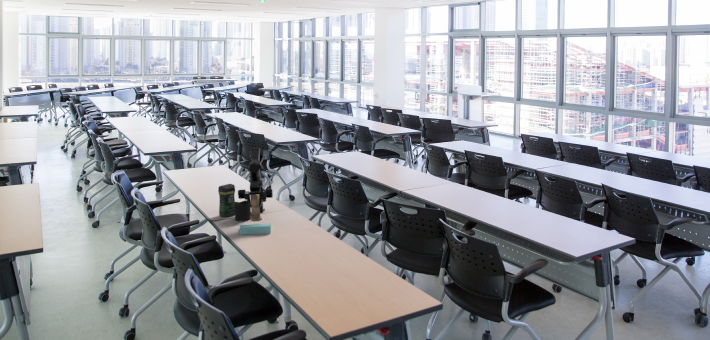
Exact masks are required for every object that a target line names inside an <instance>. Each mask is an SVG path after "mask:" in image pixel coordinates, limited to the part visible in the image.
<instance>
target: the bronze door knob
mask: <svg viewBox="0 0 710 340" xmlns="http://www.w3.org/2000/svg"><path fill="white" fill-rule="evenodd" d="M250 200H251V217H250V222H259V221H262V220H263V216H261V213H260V200H259V194H252V195H251V197H250Z"/></svg>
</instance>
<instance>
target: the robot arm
mask: <svg viewBox="0 0 710 340" xmlns="http://www.w3.org/2000/svg"><path fill="white" fill-rule="evenodd" d="M249 157H250V159H251V161H250V162H249V165H248V166H247V167H248V169H247V170H248V171H247V172H249V179H250V180H249V190H248V191H247V190H246V189H237V196H238V197H237V198H238V199H240V200H242V199H243V200H244V201H245V200H246V201H248V203H249V205H250V208H251V195H252V194H259V200H260V214H261V213H262V214H263V213H264V212H265V210H266V209H265V208H264V203H266V202H267V199H272V198H274V197H273V194H274V193H273V192H274V191H273V188H265V189H264V188H263V187H264V186H263V185H264V183H263V182H264V180H262V176H261V175H262V172H263V171H264V166H263V165H262V163H263V161H264V158H265V150H264V149H262V148H260V147H253V148H251V149H250V150H249Z"/></svg>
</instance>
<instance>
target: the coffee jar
mask: <svg viewBox="0 0 710 340" xmlns="http://www.w3.org/2000/svg"><path fill="white" fill-rule="evenodd" d="M217 191H218V195H219V208H218V214H219V216H220V217H222V218H224V217H225V218H229V217H232V216H235V211H234V202H236V201H235V200H236V199H235V194H236V186H235V184H232V183H226V184H223V185H219V186H218V190H217Z"/></svg>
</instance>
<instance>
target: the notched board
mask: <svg viewBox="0 0 710 340" xmlns="http://www.w3.org/2000/svg"><path fill="white" fill-rule="evenodd" d="M271 232H272V224H271V223H257V224H255V223H254V224H240V225H239V235H244V236H245V235H258V234H259V235H261V234H264V235H265V234H271Z"/></svg>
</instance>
